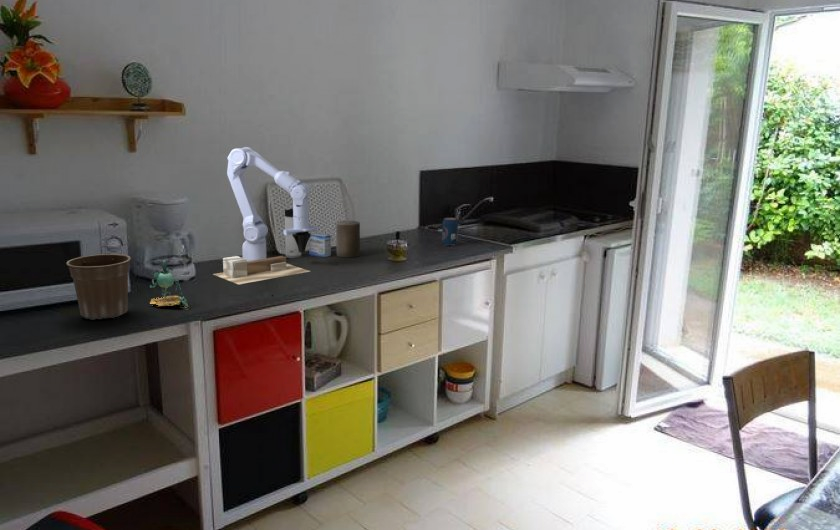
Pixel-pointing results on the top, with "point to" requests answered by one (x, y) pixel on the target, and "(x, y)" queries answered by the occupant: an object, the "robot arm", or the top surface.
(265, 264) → the slat
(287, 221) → the travel mug
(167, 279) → the frog figurine
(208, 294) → the top surface
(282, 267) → the slat board
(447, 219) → the soda can
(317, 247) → the medicine box
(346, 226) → the pillar candle
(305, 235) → the robot arm
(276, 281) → the top surface
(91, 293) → the plant pot
